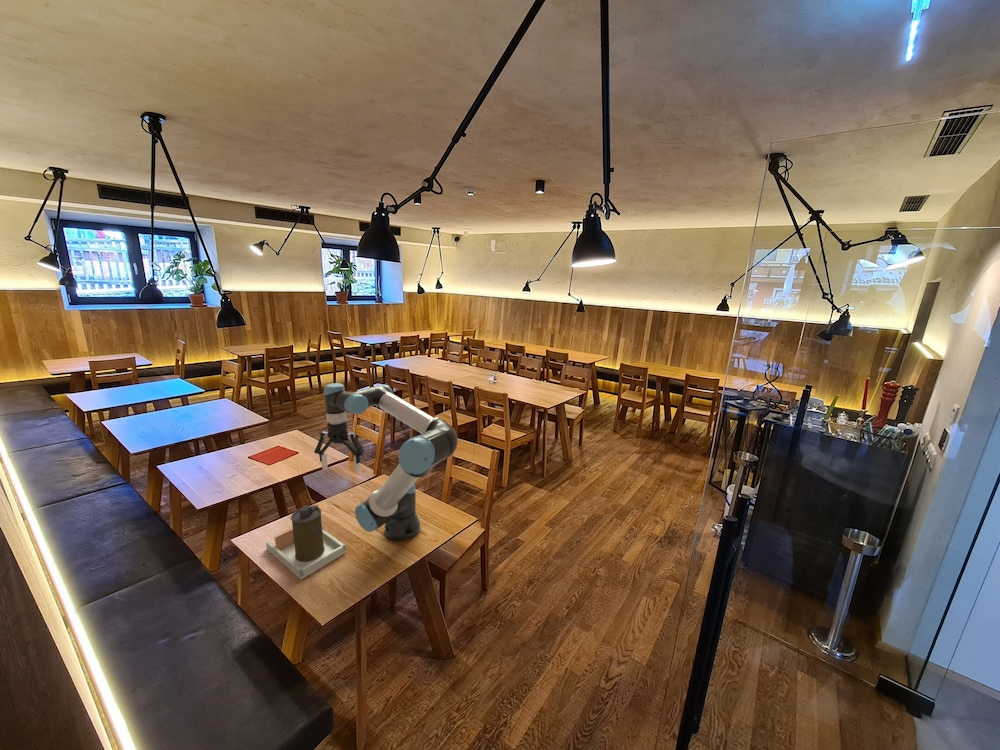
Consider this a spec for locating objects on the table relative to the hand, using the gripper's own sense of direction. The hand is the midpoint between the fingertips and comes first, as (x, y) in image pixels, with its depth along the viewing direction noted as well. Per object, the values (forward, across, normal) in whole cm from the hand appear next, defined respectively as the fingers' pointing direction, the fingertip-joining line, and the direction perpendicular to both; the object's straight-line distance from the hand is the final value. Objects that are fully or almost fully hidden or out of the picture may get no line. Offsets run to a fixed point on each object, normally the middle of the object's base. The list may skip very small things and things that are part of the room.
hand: (341, 469), depth 161 cm
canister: (+28, +7, +17) cm, 33 cm away
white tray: (+28, +9, +15) cm, 33 cm away
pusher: (+27, +19, +9) cm, 34 cm away
